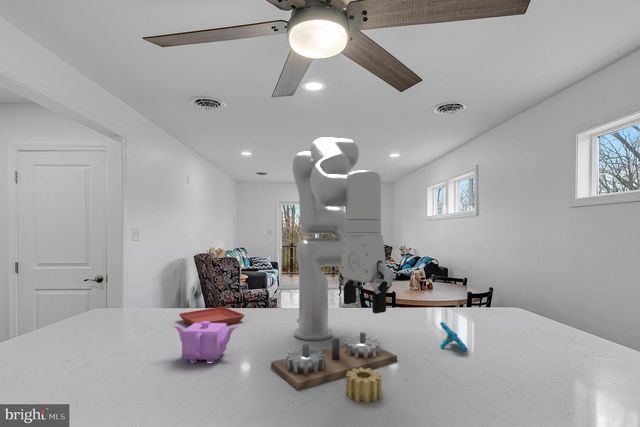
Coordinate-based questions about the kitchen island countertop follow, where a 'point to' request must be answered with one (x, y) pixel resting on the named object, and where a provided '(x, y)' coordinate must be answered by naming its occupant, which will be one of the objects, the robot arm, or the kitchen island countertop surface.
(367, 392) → the brass gear
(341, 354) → the gear board
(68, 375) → the kitchen island countertop surface
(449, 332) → the gear
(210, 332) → the teapot
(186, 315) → the plant saucer
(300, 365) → the gear
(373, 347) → the gear
